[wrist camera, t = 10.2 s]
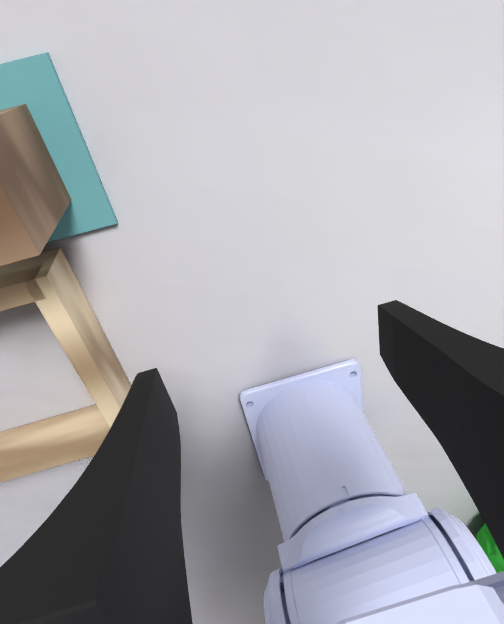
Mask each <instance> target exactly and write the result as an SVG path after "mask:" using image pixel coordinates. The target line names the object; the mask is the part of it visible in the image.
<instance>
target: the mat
mask: <svg viewBox="0 0 504 624" xmlns="http://www.w3.org/2000/svg"><path fill="white" fill-rule="evenodd" d="M23 104H26V105H27V107H28V109H29V111H30V113H31V115H32V117H33V119H34V122H35V124H36V126H37V128H38V130H39V132H40V134H41V136H42V138H43V140H44V143H45V145H46V147H47V149H48V151H49V153H50V155H51V157H52V159H53V162H54V164H55V166H56V168H57V170H58V172H59V174H60V176H61V178H62V181H63V183H64V185H65V187H66V189H67V191H68V193H69V195H70V197H71V202H70V203H69V205H68V207H67V209H66V210H65V212H64V214H63V216H62V217H61V219H60V221H59V223H58V224H57V226H56V228H55V229H54V231H53V233H52V235H51V236H50V238H49V240H48V242H51V241H54V240H58V239H62V238H65V237H69V236H73V235H77V234H80V233H84V232H88V231H91V230H95V229H99V228H103V227H106V226H110V225H114V224H117V222H118V221H117V219H116V216H115V214H114V211H113V209H112V207H111V204H110V202H109V199H108V197H107V194H106V192H105V190H104V187H103V185H102V182H101V180H100V177H99V175H98V173H97V170H96V168H95V165H94V163H93V160H92V158H91V156H90V153H89V151H88V148H87V146H86V143H85V141H84V139H83V136H82V134H81V131H80V129H79V126H78V124H77V122H76V119H75V117H74V114H73V112H72V109H71V107H70V104H69V102H68V100H67V97H66V95H65V92H64V90H63V87H62V85H61V83H60V80H59V78H58V75H57V73H56V70H55V68H54V66H53V63H52V61H51V58H50V56H49V53H44V54H40V55H36V56H32V57H28V58H24V59H20V60H16V61H12V62H8V63H4V64H0V110H4V109H8V108H11V107H15V106H19V105H23Z"/></svg>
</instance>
